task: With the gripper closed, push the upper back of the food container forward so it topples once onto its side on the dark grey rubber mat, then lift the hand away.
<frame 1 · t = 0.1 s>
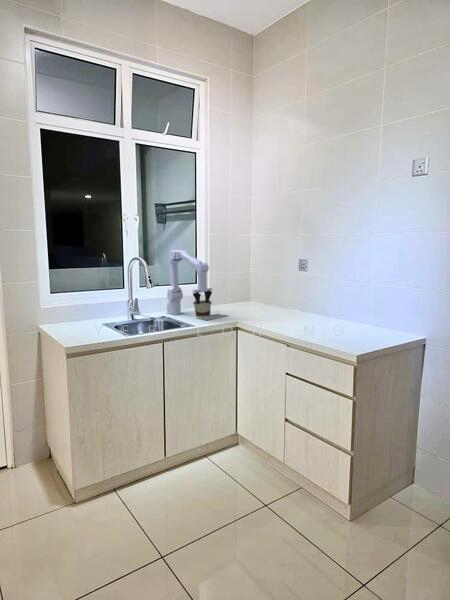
hand: (202, 303, 250), 10 cm above the counter, tool pointing down, fingers open, 7 cm apart
food container: (203, 315, 262), on the counter, touching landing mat
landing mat: (212, 317, 256), on the counter
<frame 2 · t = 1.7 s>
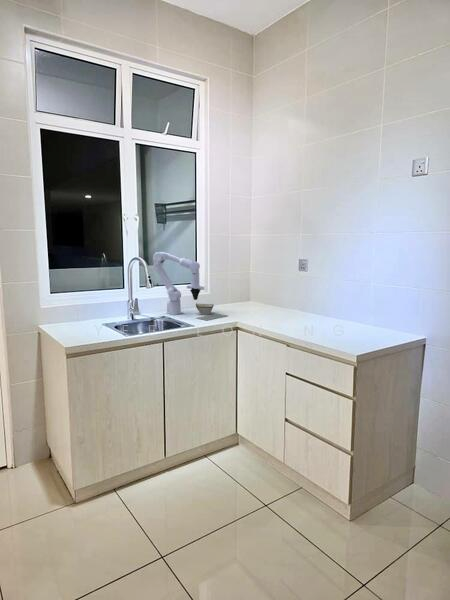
hand: (195, 299, 266), 10 cm above the counter, tool pointing down, fingers closed
food container: (204, 312, 263), point 2 cm above the counter
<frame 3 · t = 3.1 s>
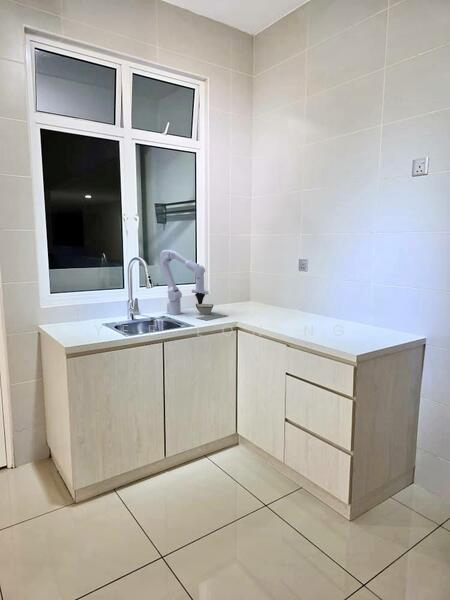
hand: (200, 304, 263), 7 cm above the counter, tool pointing down, fingers closed
nothing on the counter moved.
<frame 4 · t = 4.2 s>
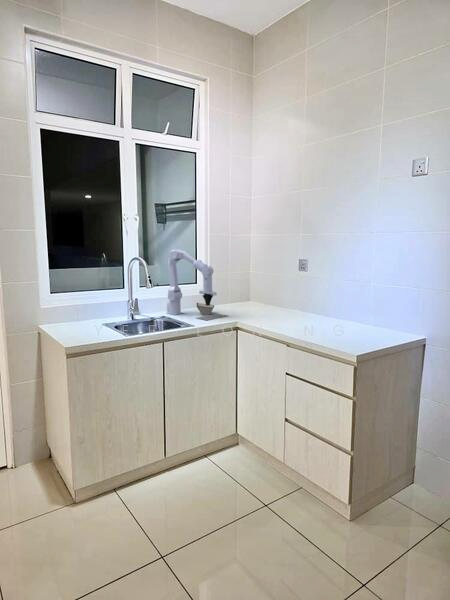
hand: (207, 305, 258), 7 cm above the counter, tool pointing down, fingers closed
nothing on the counter moved.
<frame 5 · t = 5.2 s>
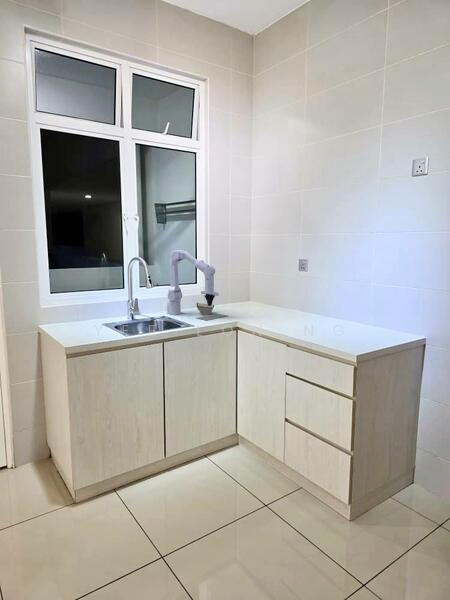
hand: (209, 305, 257), 7 cm above the counter, tool pointing down, fingers closed
nothing on the counter moved.
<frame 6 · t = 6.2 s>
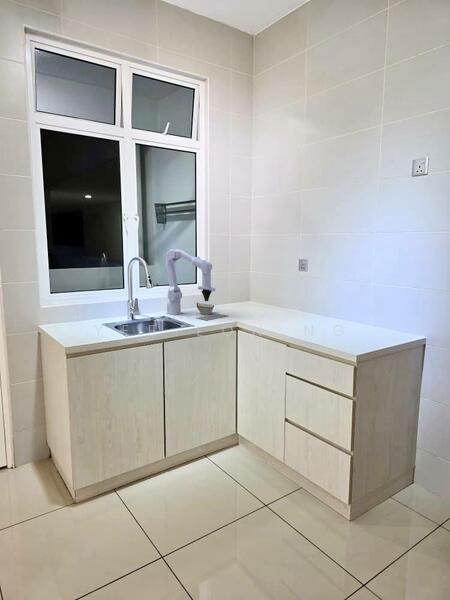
hand: (206, 301, 258), 10 cm above the counter, tool pointing down, fingers closed
nothing on the counter moved.
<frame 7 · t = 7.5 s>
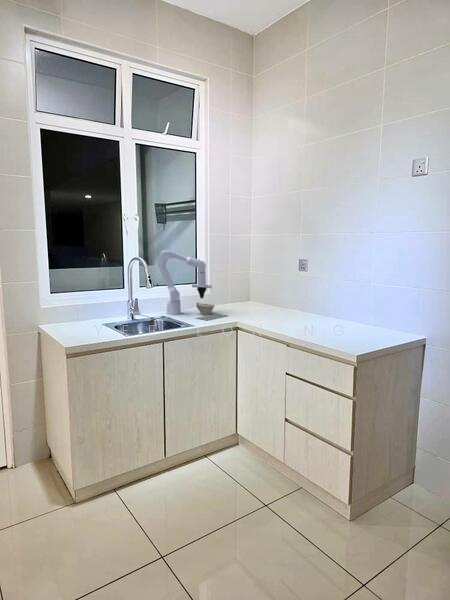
hand: (201, 298, 270), 10 cm above the counter, tool pointing down, fingers closed
nothing on the counter moved.
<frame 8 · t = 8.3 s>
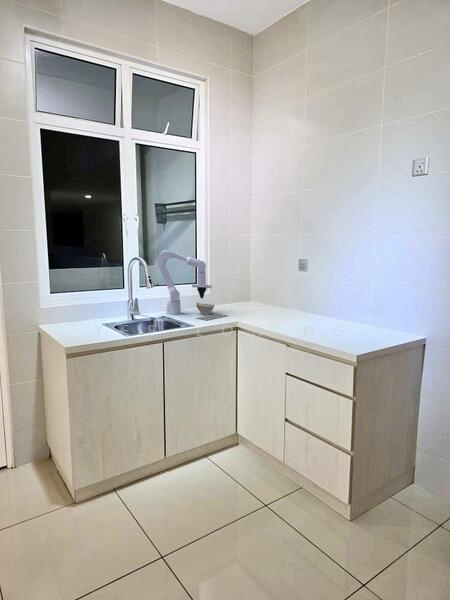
hand: (201, 298, 270), 10 cm above the counter, tool pointing down, fingers closed
nothing on the counter moved.
at the end: food container tilted 82°; food container inside the target area (5.8 cm from its centre), point 1.9 cm above the counter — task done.
